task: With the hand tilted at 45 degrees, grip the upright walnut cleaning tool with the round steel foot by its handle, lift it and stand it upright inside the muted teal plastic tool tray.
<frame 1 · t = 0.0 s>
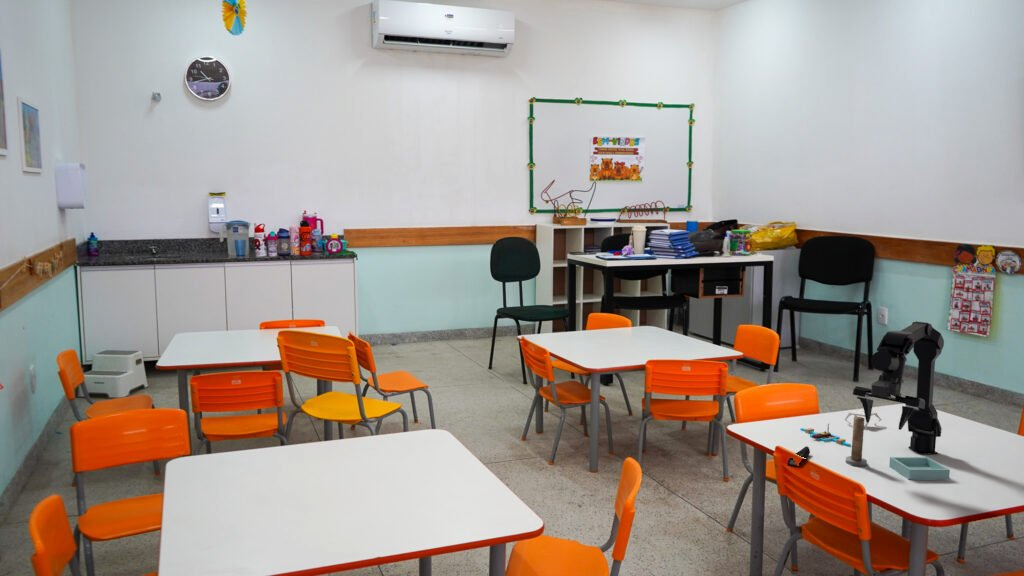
hand: (883, 426, 222), 15 cm above the table, tool pointing down, fingers open, 9 cm apart
tool tray: (918, 472, 227), on the table
electric trimmer: (798, 461, 237), on the table
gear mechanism: (823, 439, 260), on the table
eyeglasses: (864, 426, 274), on the table
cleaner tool: (856, 463, 235), on the table
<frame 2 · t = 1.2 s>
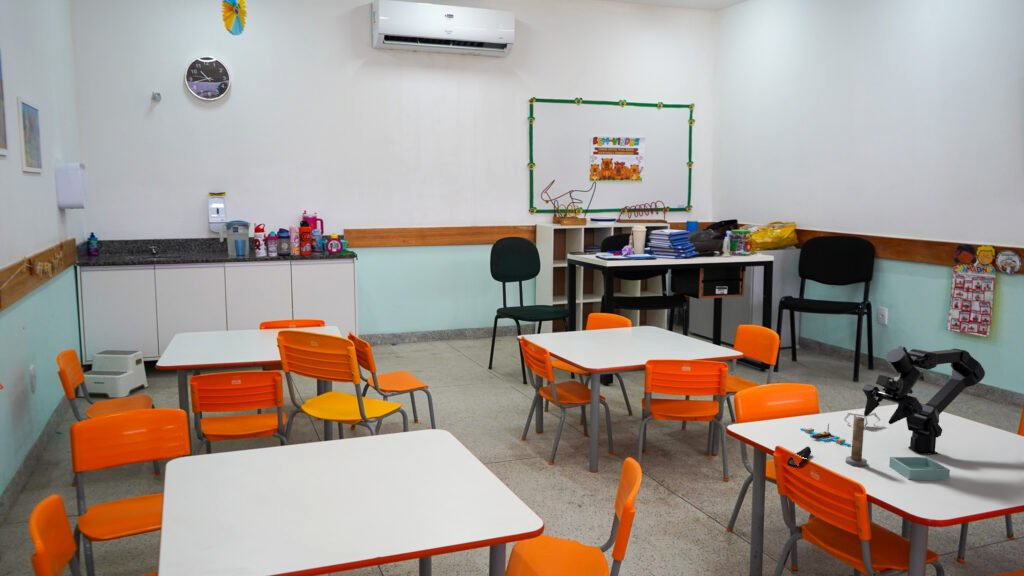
hand: (876, 419, 236), 13 cm above the table, tool tilted 45°, fingers open, 9 cm apart
nothing on the table moved.
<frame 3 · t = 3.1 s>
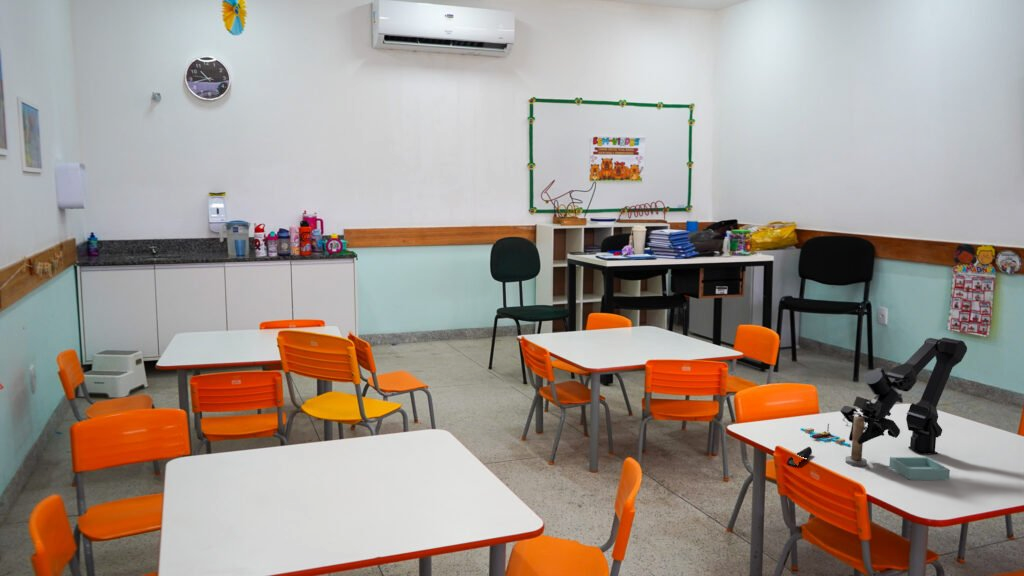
hand: (854, 441, 233), 7 cm above the table, tool tilted 45°, fingers closed on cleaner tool, 3 cm apart
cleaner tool: (856, 463, 235), on the table, touching gripper
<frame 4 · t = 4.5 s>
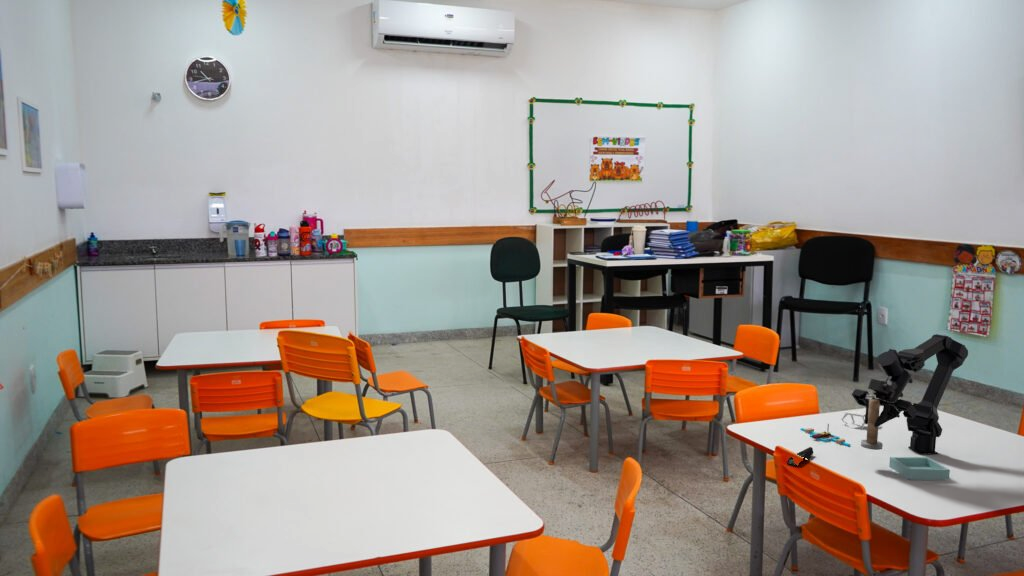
hand: (870, 424, 230), 13 cm above the table, tool tilted 45°, fingers closed on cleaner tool, 3 cm apart
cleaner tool: (871, 446, 232), point 6 cm above the table, touching gripper
when the fingers open (9 cm above the table, at t = 6.2 s): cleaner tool drops 1 cm, resting on tool tray.
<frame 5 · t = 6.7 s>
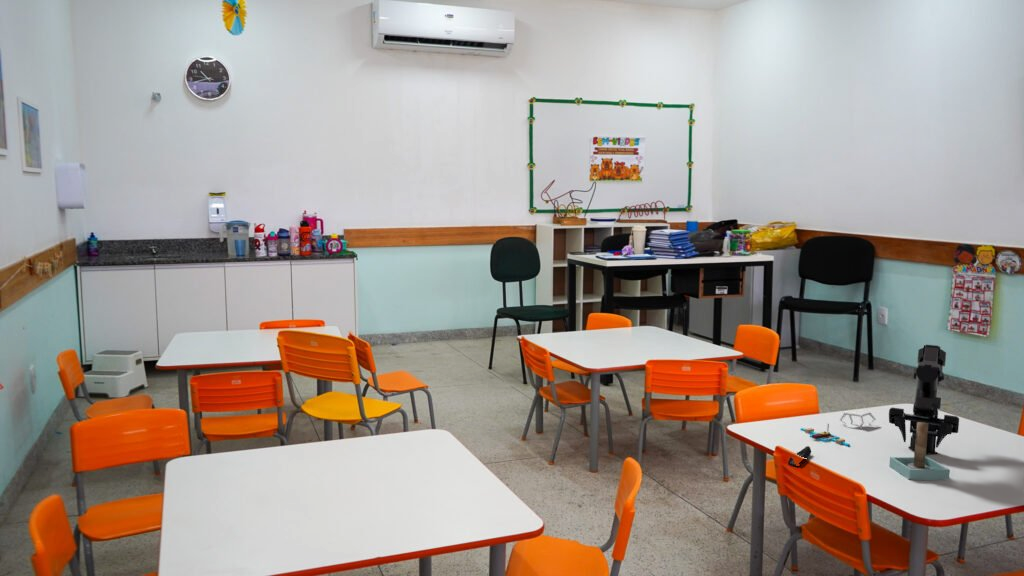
hand: (920, 444, 225), 9 cm above the table, tool tilted 45°, fingers open, 8 cm apart
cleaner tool: (918, 470, 227), point 1 cm above the table, touching tool tray
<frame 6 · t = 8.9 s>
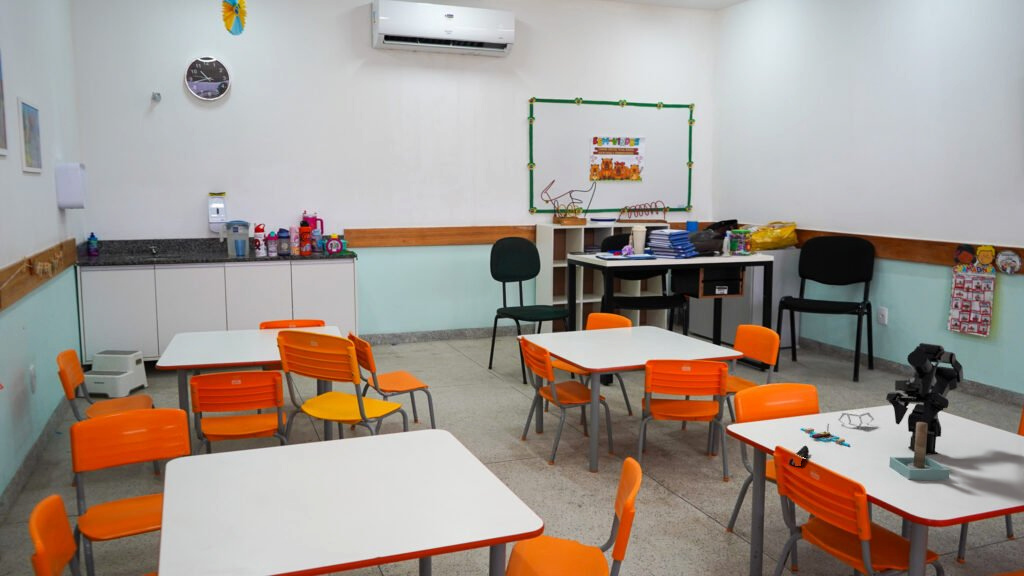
hand: (909, 424, 235), 12 cm above the table, tool tilted 35°, fingers open, 9 cm apart
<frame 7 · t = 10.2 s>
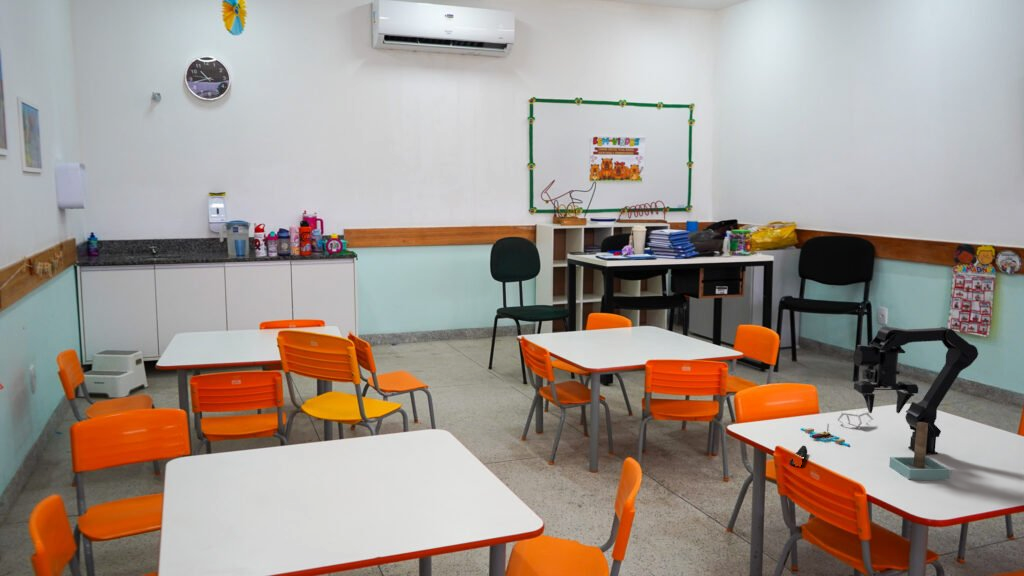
hand: (883, 412, 245), 13 cm above the table, tool pointing down, fingers open, 9 cm apart
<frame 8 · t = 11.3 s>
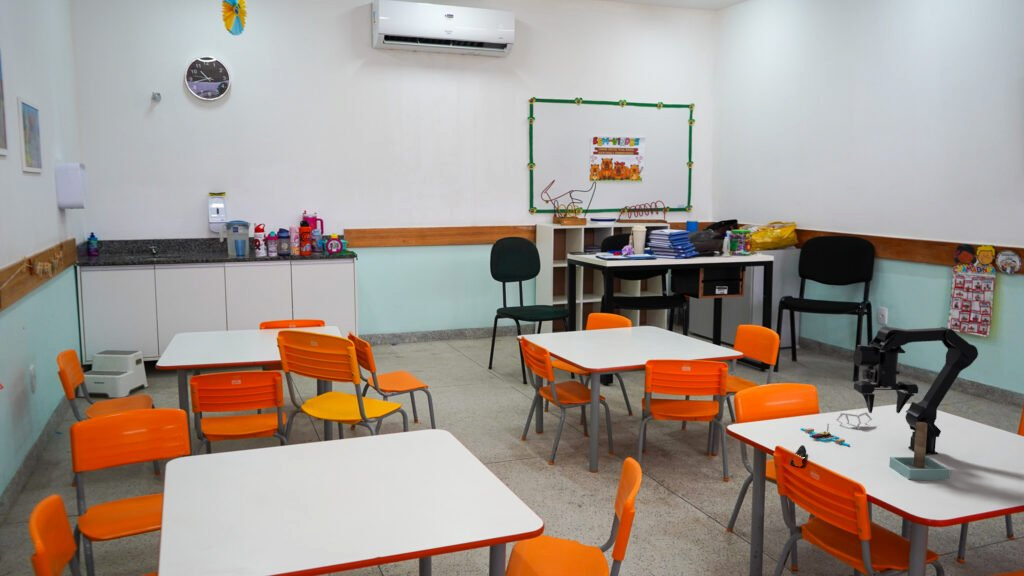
hand: (883, 412, 245), 13 cm above the table, tool pointing down, fingers open, 9 cm apart
at the end: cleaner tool inside the target area on the tool tray (0.1 cm from its centre), point 0.8 cm above the tool tray's base; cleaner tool tilted 1°; the gripper is holding nothing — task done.
